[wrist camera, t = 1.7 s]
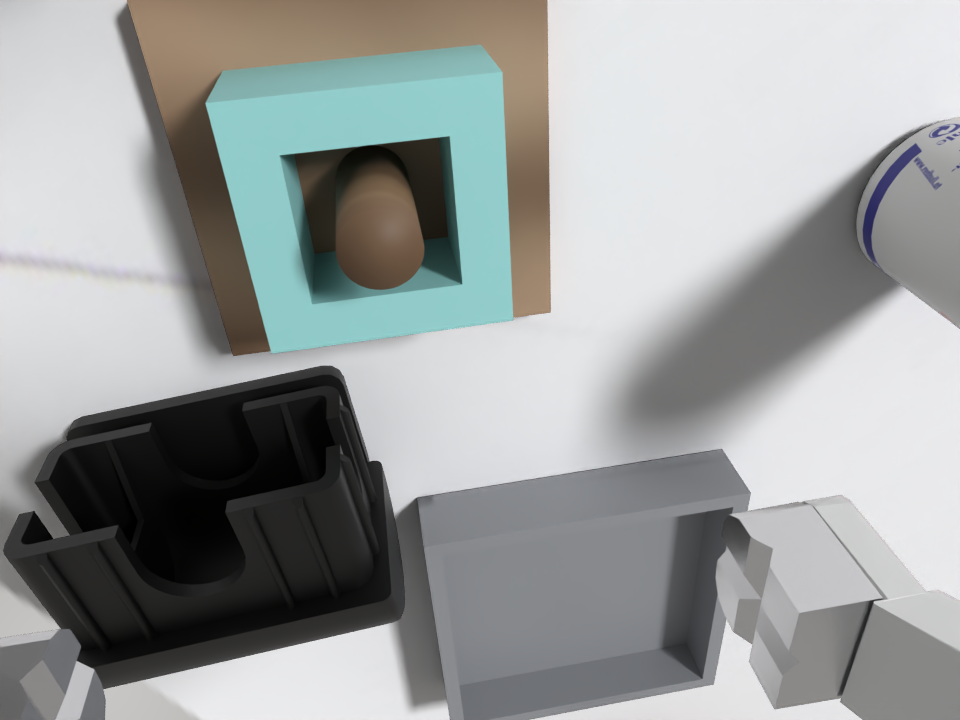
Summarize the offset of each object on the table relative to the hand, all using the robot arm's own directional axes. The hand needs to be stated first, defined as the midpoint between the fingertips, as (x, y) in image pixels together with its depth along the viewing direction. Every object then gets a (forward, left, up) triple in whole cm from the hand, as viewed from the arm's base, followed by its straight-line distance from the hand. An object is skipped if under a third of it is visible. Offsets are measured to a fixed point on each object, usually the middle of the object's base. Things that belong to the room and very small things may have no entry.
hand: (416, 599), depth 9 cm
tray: (+19, +6, -15) cm, 25 cm away
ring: (0, 0, -14) cm, 14 cm away
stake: (0, 0, -15) cm, 15 cm away
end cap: (+10, -6, -15) cm, 19 cm away
